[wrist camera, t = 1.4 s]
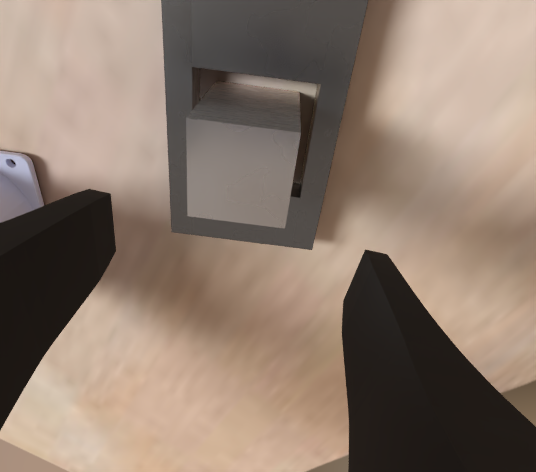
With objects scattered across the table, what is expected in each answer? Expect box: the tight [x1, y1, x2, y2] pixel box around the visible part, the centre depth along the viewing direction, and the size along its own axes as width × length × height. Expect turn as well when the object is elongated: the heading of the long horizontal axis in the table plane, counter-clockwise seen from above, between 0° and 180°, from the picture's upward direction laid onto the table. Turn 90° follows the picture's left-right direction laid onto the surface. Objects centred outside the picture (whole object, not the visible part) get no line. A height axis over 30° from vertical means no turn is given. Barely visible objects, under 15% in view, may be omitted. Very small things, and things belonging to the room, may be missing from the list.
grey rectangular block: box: [186, 81, 301, 229], centre depth 16 cm, size 4×4×6 cm
